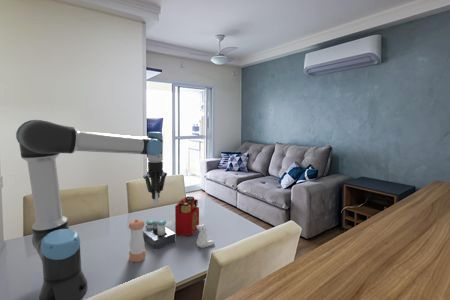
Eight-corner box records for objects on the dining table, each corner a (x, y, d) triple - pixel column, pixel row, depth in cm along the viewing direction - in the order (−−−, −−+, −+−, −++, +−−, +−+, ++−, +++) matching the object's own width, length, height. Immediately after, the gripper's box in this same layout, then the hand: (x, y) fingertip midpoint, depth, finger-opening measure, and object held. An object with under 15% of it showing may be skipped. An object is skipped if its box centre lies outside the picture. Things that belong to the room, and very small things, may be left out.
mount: (154, 249, 123) (154, 240, 122) (137, 235, 137) (137, 227, 136) (175, 242, 131) (175, 233, 130) (157, 229, 145) (157, 221, 145)
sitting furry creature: (215, 244, 130) (215, 223, 128) (205, 251, 122) (205, 229, 121) (201, 239, 135) (201, 218, 133) (191, 245, 128) (191, 224, 126)
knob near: (159, 237, 126) (159, 224, 125) (155, 233, 129) (155, 221, 128) (167, 234, 129) (167, 221, 128) (163, 231, 132) (163, 218, 131)
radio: (191, 237, 136) (191, 203, 134) (174, 235, 138) (174, 201, 136) (199, 225, 152) (200, 194, 149) (184, 223, 153) (184, 193, 151)
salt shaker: (128, 263, 111) (127, 223, 109) (130, 254, 118) (129, 217, 116) (145, 260, 113) (144, 221, 111) (145, 252, 120) (145, 215, 118)
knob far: (149, 236, 135) (148, 224, 134) (145, 232, 138) (144, 221, 137) (156, 233, 138) (156, 221, 137) (152, 230, 141) (152, 219, 140)
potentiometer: (154, 231, 131) (154, 223, 130) (152, 229, 134) (152, 221, 133) (159, 230, 133) (159, 222, 132) (157, 228, 135) (157, 219, 134)
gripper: (147, 163, 121) (147, 209, 124) (169, 161, 130) (169, 203, 133) (140, 161, 126) (141, 205, 129) (162, 159, 135) (162, 199, 138)
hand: (155, 204), depth 131 cm, fingers closed
